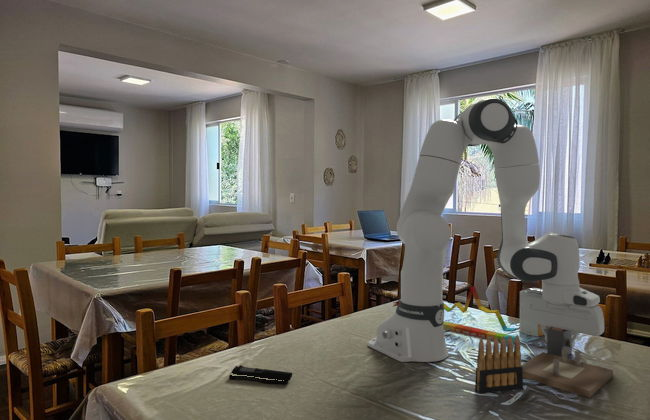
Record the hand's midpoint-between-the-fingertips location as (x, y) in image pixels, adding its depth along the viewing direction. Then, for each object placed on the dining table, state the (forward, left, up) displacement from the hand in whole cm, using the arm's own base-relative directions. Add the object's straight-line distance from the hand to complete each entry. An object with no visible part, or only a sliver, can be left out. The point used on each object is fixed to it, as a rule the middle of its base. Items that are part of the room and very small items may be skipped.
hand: (559, 344), depth 119 cm
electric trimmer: (-42, -68, -3) cm, 80 cm away
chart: (-27, -2, -3) cm, 28 cm away
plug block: (0, 0, -3) cm, 3 cm away
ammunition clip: (-1, -32, -3) cm, 32 cm away
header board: (+6, -14, -3) cm, 15 cm away
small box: (-12, +14, -3) cm, 19 cm away
